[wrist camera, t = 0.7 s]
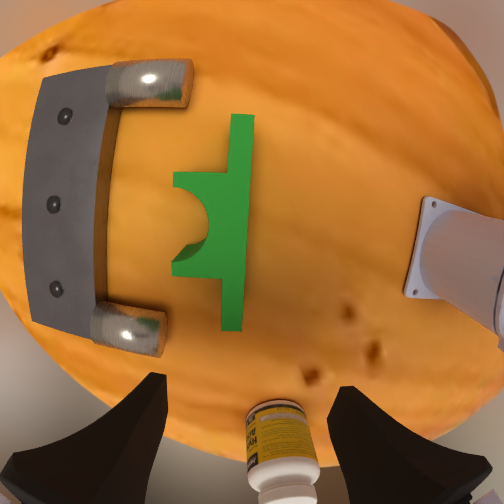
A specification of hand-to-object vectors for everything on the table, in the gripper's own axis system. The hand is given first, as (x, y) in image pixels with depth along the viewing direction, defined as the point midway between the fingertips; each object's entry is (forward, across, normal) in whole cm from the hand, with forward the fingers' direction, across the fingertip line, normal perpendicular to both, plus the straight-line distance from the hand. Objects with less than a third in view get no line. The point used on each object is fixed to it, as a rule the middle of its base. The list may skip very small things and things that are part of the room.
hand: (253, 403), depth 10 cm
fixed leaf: (+9, +11, -6) cm, 16 cm away
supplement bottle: (+10, -4, +11) cm, 15 cm away
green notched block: (+10, +3, -6) cm, 12 cm away
